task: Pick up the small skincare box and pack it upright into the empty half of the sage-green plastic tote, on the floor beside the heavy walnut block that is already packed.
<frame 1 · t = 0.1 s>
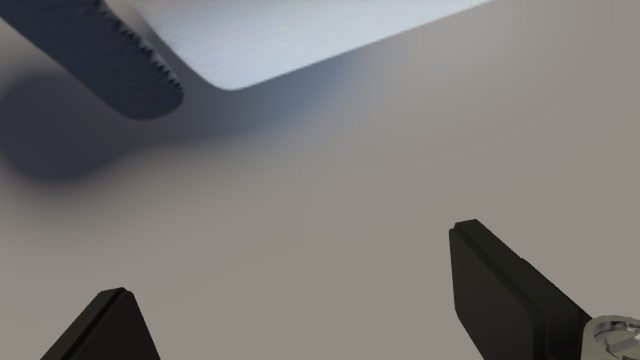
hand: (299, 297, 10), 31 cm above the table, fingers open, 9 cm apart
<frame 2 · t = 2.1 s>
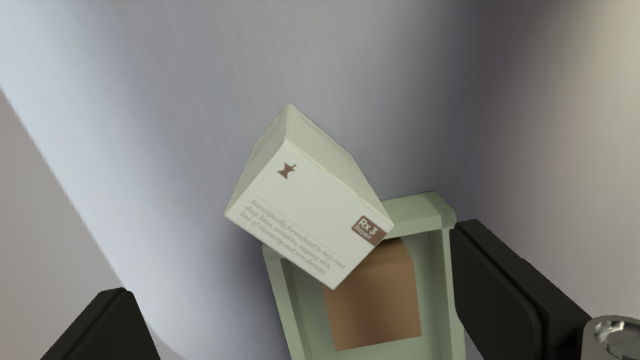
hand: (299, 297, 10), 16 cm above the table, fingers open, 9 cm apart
walnut block: (361, 266, 28), point 1 cm above the table, touching tote
tote: (368, 312, 31), on the table
skincare box: (305, 149, 26), on the table
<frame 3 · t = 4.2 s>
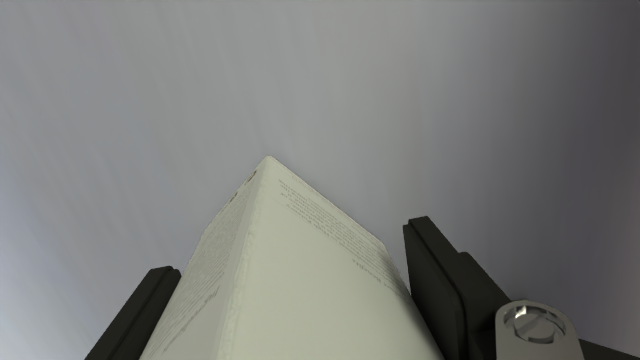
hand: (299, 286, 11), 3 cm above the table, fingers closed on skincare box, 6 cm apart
skincare box: (301, 234, 14), on the table, touching gripper
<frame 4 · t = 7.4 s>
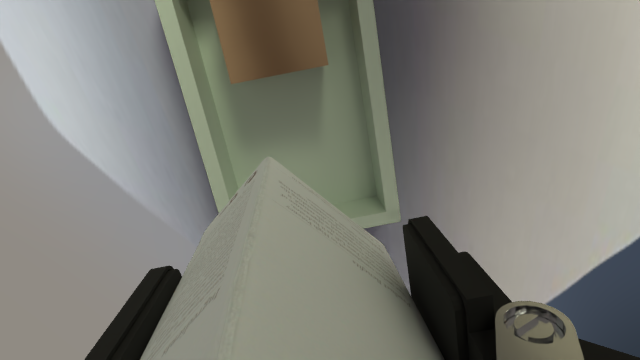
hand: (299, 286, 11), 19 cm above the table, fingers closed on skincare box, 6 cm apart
walnut block: (274, 29, 25), point 1 cm above the table, touching tote
tote: (289, 99, 28), on the table
skincare box: (301, 235, 14), point 15 cm above the table, touching gripper
when the fingers open (5 cm above the table, at t = 10.7 s): skincare box drops 1 cm, resting on tote.
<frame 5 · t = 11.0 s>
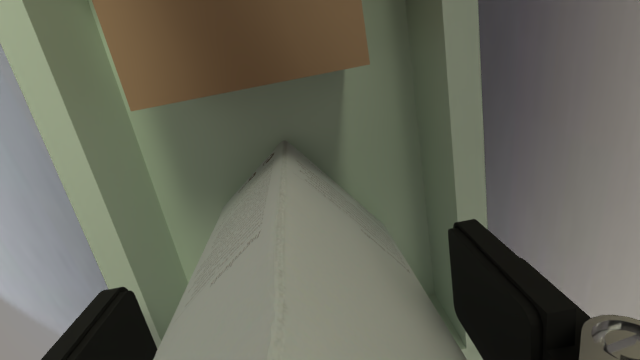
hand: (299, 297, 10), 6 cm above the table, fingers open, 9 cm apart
tote: (280, 128, 15), on the table
skincare box: (310, 214, 16), resting on tote
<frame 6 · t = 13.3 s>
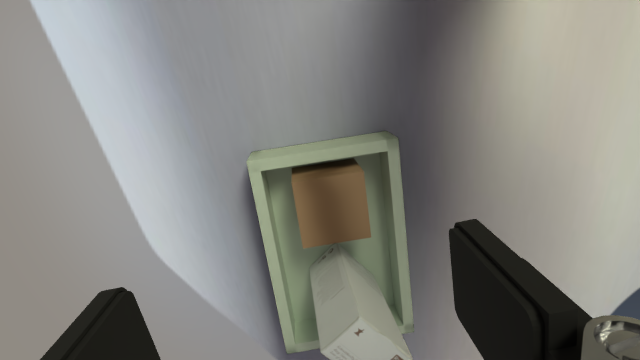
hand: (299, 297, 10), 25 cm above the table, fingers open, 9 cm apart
walnut block: (327, 192, 35), point 1 cm above the table, touching tote
tote: (333, 236, 37), on the table
skincare box: (343, 270, 38), resting on tote
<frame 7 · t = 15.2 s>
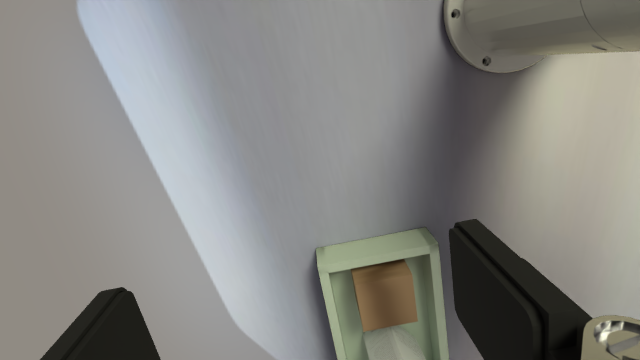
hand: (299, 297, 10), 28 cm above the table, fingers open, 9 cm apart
walnut block: (377, 277, 43), point 1 cm above the table, touching tote
tote: (381, 308, 45), on the table
skincare box: (390, 334, 46), resting on tote
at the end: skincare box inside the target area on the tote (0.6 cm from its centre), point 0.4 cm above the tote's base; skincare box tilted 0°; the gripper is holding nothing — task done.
